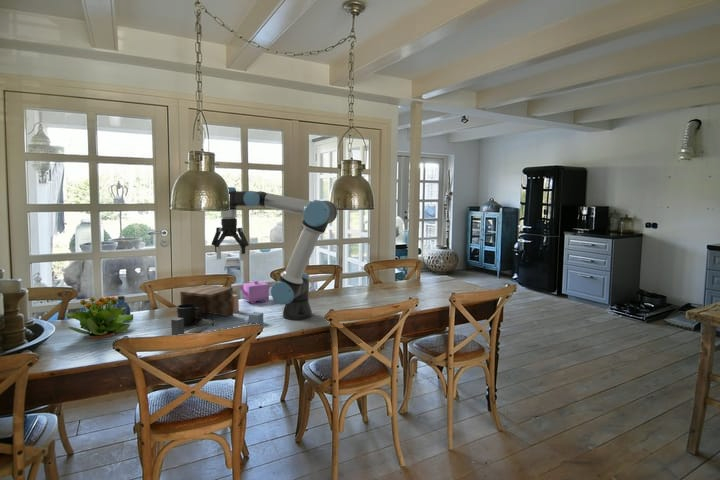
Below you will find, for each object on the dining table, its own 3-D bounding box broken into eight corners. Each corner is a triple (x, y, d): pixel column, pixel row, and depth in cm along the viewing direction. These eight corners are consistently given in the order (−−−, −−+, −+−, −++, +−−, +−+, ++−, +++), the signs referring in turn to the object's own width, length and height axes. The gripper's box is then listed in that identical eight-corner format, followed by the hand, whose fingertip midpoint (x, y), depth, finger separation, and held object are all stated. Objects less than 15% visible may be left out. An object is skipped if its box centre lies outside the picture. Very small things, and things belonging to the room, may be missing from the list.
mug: (197, 328, 198) (197, 308, 197) (174, 327, 200) (173, 307, 199) (206, 323, 206) (205, 304, 205) (183, 322, 208) (182, 303, 207)
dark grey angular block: (215, 325, 203) (215, 307, 202) (178, 340, 181) (177, 320, 180) (195, 322, 208) (194, 304, 207) (156, 336, 186) (155, 317, 185)
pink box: (266, 297, 259) (266, 278, 257) (272, 301, 250) (272, 280, 249) (234, 302, 248) (234, 281, 246) (239, 306, 239) (239, 284, 238)
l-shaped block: (238, 311, 229) (238, 294, 228) (234, 312, 226) (234, 296, 225) (215, 308, 234) (214, 292, 233) (211, 309, 231) (210, 293, 230)
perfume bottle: (127, 317, 215) (125, 294, 214) (130, 319, 211) (129, 296, 209) (113, 319, 211) (112, 296, 209) (116, 322, 206) (115, 298, 205)
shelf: (233, 315, 220) (232, 287, 219) (211, 324, 204) (210, 294, 202) (205, 311, 226) (204, 284, 225) (181, 320, 210) (180, 291, 208)
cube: (263, 322, 209) (263, 312, 208) (257, 325, 204) (257, 315, 203) (254, 321, 210) (254, 311, 210) (248, 324, 206) (248, 314, 205)
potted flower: (125, 342, 178) (123, 302, 176) (59, 348, 170) (56, 307, 168) (135, 325, 202) (133, 290, 200) (77, 330, 194) (75, 293, 192)
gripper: (254, 218, 210) (256, 259, 212) (212, 217, 218) (214, 257, 220) (246, 218, 203) (247, 261, 205) (203, 218, 210) (204, 259, 213)
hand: (230, 259), depth 213 cm, fingers open, 13 cm apart
